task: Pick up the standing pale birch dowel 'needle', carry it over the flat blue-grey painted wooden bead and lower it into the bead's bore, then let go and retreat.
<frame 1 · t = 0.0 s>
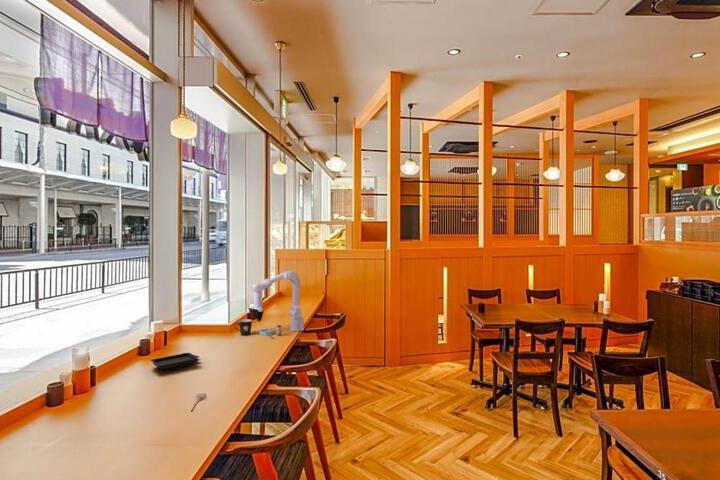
hand: (257, 320, 295), 10 cm above the table, fingers open, 7 cm apart
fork: (196, 404, 180), on the table
needle dowel: (278, 335, 292), on the table
tray: (177, 366, 227), on the table
bead ring: (266, 333, 297), on the table
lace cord: (271, 337, 288), on the table
coffee mug: (243, 335, 294), on the table
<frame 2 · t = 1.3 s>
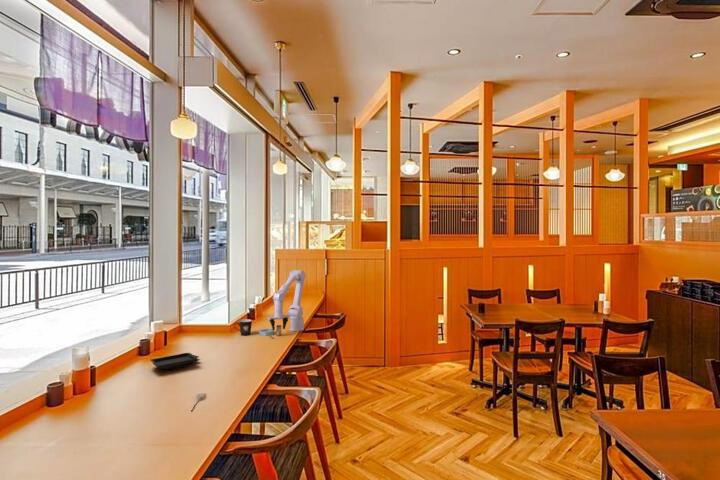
hand: (278, 329, 292), 4 cm above the table, fingers open, 7 cm apart
nothing on the table moved.
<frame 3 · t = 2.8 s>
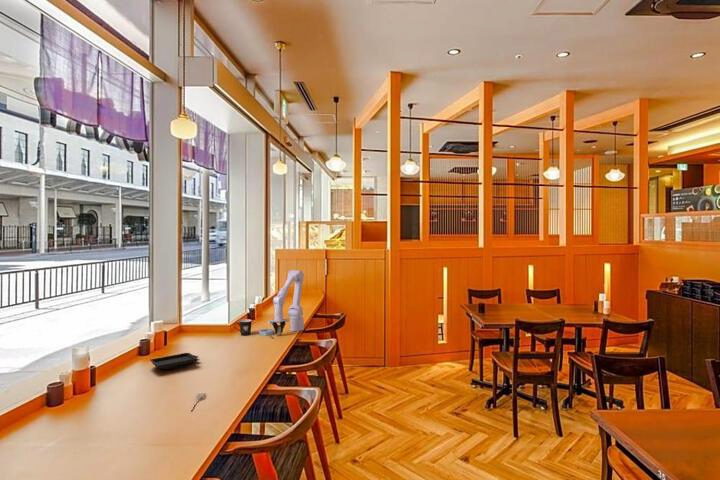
hand: (278, 332, 292), 2 cm above the table, fingers closed on needle dowel, 3 cm apart
needle dowel: (278, 335, 292), on the table, touching gripper
everything else where it was.
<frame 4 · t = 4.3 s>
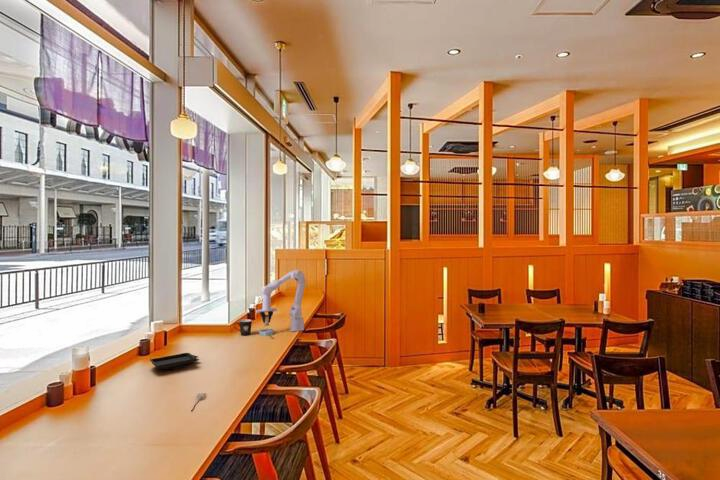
hand: (266, 322, 297), 8 cm above the table, fingers closed on needle dowel, 3 cm apart
needle dowel: (266, 325, 297), point 6 cm above the table, touching gripper
everything else where it was.
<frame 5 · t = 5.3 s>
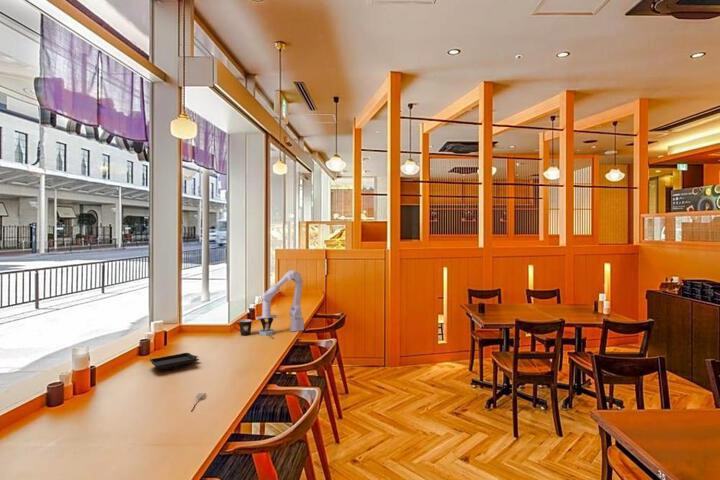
hand: (266, 329, 297), 3 cm above the table, fingers closed on needle dowel, 3 cm apart
needle dowel: (266, 331, 297), point 1 cm above the table, touching gripper
everything else where it was.
when the fingers open (3 cm above the table, at t = 5.8 s): needle dowel drops 1 cm, resting in bead ring.
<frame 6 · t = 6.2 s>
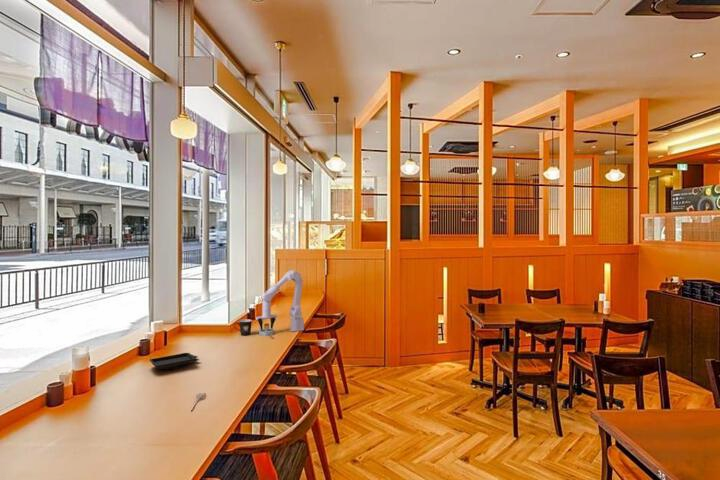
hand: (266, 329, 297), 3 cm above the table, fingers open, 7 cm apart
needle dowel: (266, 333, 297), resting in bead ring
everything else where it was.
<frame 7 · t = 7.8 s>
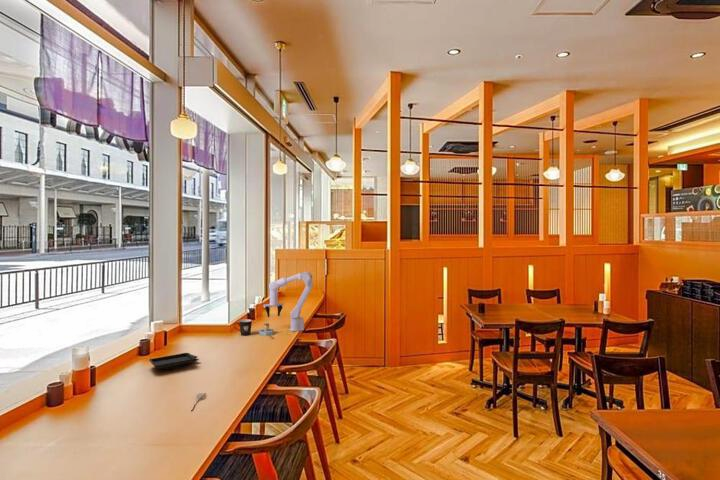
hand: (273, 316, 308), 10 cm above the table, fingers open, 7 cm apart
nothing on the table moved.
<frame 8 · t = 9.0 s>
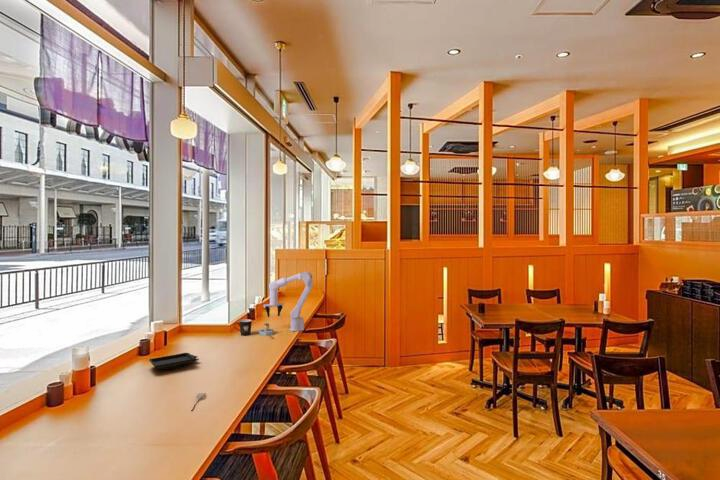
hand: (273, 316, 308), 10 cm above the table, fingers open, 7 cm apart
at the end: needle dowel 0.2 cm off-centre on the bead ring, point 0.0 cm above the bead ring's base; needle dowel tilted 0°; the gripper is holding nothing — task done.
